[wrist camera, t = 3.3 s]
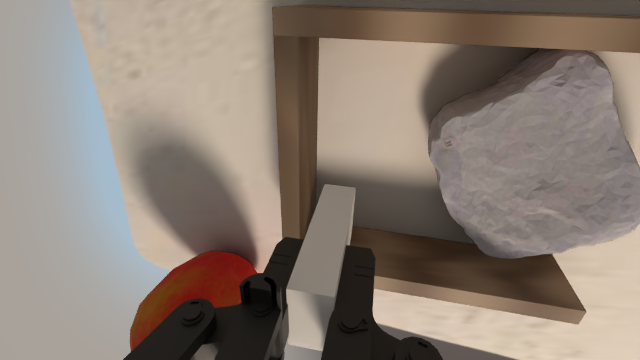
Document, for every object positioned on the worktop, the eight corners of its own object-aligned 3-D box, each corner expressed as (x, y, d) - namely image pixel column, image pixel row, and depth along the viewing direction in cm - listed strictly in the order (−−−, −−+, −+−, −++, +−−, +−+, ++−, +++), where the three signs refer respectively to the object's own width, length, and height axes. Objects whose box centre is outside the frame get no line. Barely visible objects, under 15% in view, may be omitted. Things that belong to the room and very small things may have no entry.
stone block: (478, 230, 26) (640, 195, 21) (477, 274, 23) (674, 247, 17) (409, 106, 23) (579, 23, 17) (396, 134, 20) (605, 41, 14)
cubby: (672, 16, 16) (771, 23, 12) (546, 267, 25) (578, 324, 20) (299, 5, 19) (272, 7, 15) (301, 230, 28) (284, 272, 23)
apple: (246, 215, 28) (160, 339, 18) (296, 288, 31) (247, 428, 21) (173, 241, 32) (66, 357, 22) (224, 304, 35) (152, 431, 25)
